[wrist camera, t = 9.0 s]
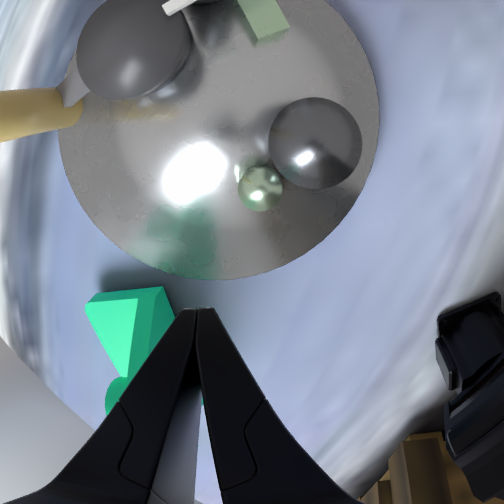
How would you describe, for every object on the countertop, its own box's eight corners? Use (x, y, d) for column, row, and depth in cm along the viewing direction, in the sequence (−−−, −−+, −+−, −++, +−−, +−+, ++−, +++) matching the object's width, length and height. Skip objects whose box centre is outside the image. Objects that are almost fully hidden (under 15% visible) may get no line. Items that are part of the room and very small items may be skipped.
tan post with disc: (231, -51, 13) (172, -155, 3) (284, 29, 15) (267, -64, 5) (39, 83, 17) (-80, 99, 7) (73, 157, 20) (-49, 206, 10)
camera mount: (95, 287, 26) (29, 360, 17) (167, 279, 25) (107, 369, 16) (144, 382, 31) (107, 457, 22) (210, 384, 29) (182, 472, 20)
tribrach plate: (286, -71, 12) (283, -94, 9) (415, 213, 20) (431, 230, 17) (35, 75, 18) (9, 76, 16) (146, 303, 26) (131, 325, 23)
